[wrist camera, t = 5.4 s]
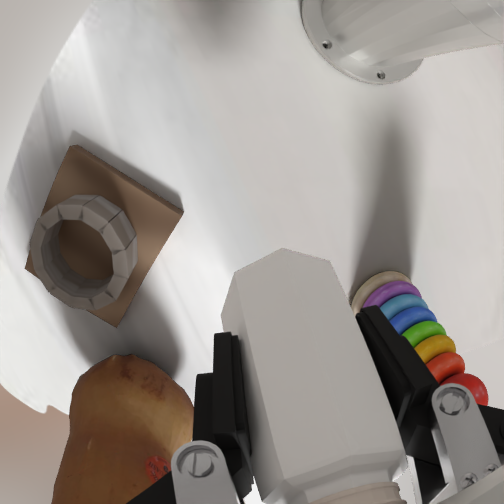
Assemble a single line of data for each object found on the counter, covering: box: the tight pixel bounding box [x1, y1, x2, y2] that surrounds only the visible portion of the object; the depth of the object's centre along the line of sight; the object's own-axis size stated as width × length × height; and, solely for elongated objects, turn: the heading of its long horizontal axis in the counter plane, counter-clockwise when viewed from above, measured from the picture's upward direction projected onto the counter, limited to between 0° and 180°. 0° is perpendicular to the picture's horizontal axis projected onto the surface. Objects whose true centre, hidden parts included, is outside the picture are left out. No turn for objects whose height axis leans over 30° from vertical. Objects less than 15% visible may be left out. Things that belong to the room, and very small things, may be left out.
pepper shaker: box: [221, 248, 408, 504], centre depth 8 cm, size 5×5×11 cm
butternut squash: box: [51, 354, 194, 504], centre depth 23 cm, size 14×13×25 cm
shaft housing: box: [25, 145, 184, 328], centre depth 25 cm, size 14×12×5 cm
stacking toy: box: [351, 271, 488, 406], centre depth 24 cm, size 8×8×19 cm
